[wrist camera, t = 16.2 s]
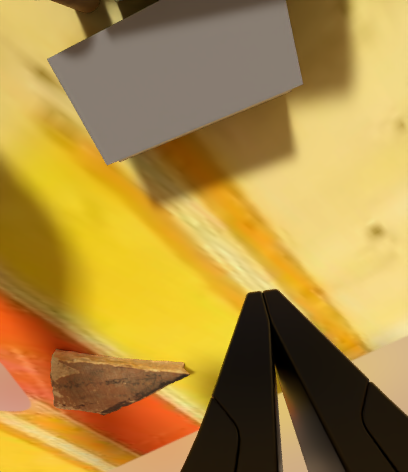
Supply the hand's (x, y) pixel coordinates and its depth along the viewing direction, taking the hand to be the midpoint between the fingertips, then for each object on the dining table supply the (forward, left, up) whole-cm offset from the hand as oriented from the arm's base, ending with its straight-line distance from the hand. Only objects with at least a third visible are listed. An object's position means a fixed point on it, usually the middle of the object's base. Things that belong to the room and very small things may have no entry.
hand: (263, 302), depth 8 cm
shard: (-16, -18, -14) cm, 27 cm away
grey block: (-2, +6, -13) cm, 14 cm away
